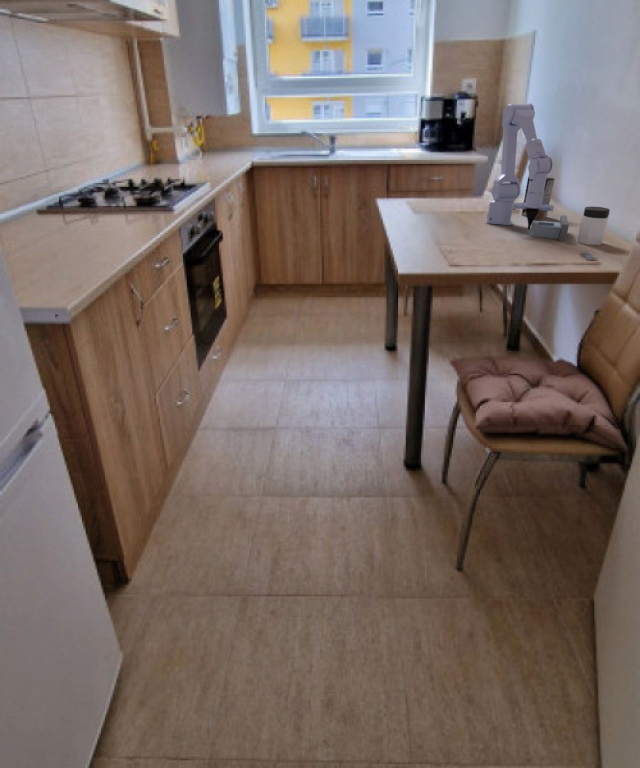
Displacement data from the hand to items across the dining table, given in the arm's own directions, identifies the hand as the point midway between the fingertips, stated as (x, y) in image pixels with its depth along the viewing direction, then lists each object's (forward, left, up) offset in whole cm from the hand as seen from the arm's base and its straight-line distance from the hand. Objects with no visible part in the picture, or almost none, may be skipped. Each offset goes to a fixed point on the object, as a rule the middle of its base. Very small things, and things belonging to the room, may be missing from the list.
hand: (528, 229), depth 219 cm
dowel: (+3, +12, -2) cm, 13 cm away
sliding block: (+6, 0, -2) cm, 6 cm away
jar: (+21, -7, -2) cm, 22 cm away
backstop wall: (+12, 0, -2) cm, 12 cm away
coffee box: (+2, +36, -2) cm, 36 cm away
